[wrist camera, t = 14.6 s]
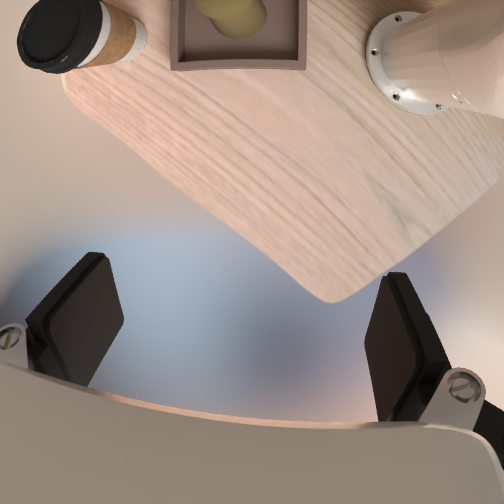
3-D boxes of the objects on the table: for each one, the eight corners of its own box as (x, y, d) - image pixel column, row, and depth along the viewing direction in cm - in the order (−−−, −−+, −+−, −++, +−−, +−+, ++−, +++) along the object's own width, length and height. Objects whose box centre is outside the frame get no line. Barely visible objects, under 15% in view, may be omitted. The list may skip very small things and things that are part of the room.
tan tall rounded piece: (245, 49, 30) (227, 32, 20) (200, 23, 28) (166, 0, 19) (278, 8, 27) (273, -24, 17) (232, -17, 26) (209, -53, 16)
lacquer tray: (305, -24, 25) (306, -33, 22) (304, 70, 31) (306, 68, 28) (181, -19, 26) (173, -27, 23) (179, 71, 32) (170, 70, 29)
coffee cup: (99, 16, 28) (18, 1, 15) (159, 5, 28) (91, -28, 15) (96, 75, 32) (13, 83, 19) (155, 68, 32) (83, 65, 19)
